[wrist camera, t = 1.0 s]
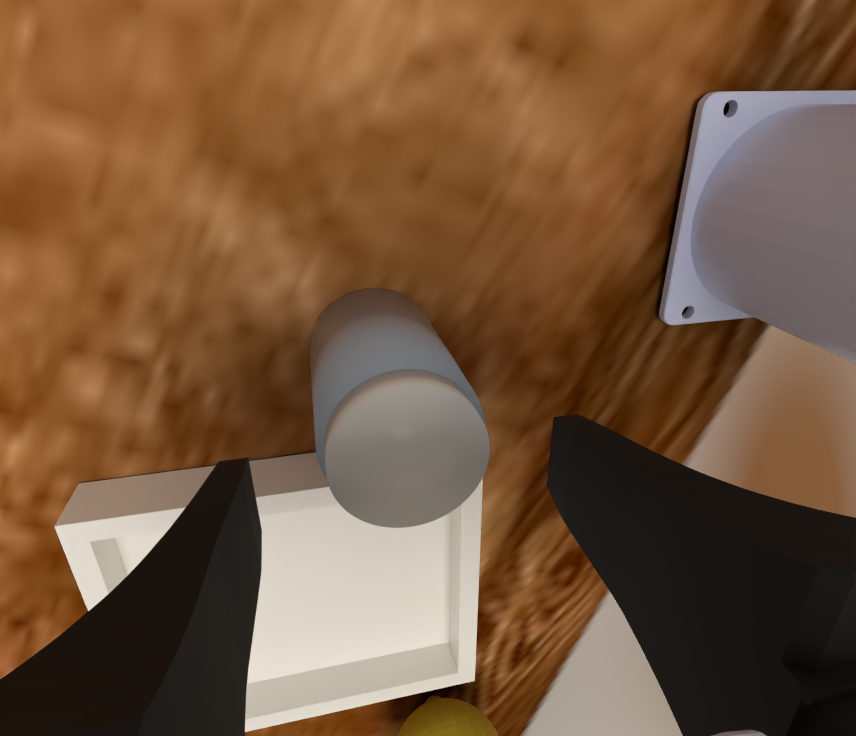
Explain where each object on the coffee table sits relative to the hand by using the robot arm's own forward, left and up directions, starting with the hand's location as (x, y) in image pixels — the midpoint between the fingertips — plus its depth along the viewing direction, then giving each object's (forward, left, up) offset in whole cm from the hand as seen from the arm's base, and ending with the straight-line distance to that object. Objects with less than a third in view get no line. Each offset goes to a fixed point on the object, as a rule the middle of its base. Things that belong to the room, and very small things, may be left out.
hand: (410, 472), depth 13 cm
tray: (+3, +10, -7) cm, 13 cm away
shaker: (0, 0, -7) cm, 7 cm away
